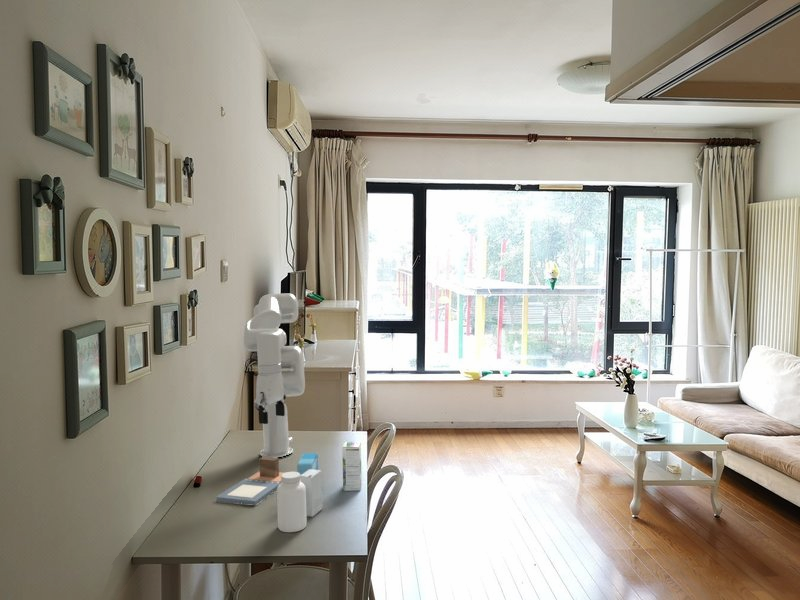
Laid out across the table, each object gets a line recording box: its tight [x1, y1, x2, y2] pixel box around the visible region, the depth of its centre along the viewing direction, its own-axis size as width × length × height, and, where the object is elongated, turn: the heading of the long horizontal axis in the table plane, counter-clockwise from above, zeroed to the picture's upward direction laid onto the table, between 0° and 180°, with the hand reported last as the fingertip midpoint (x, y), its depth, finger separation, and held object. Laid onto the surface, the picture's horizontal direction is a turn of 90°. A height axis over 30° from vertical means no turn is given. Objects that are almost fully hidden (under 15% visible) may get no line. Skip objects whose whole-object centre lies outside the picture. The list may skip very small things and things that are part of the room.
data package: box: [296, 452, 319, 475], centre depth 192 cm, size 12×4×12 cm, turn 179°
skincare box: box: [300, 469, 323, 518], centre depth 178 cm, size 6×4×12 cm
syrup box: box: [341, 441, 363, 492], centre depth 197 cm, size 6×6×14 cm
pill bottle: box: [276, 471, 307, 533], centre depth 169 cm, size 8×8×15 cm
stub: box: [247, 457, 285, 482], centre depth 206 cm, size 8×12×8 cm, turn 72°
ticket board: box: [215, 478, 281, 505], centre depth 194 cm, size 16×14×2 cm
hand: (272, 419), depth 202 cm, fingers open, 9 cm apart
